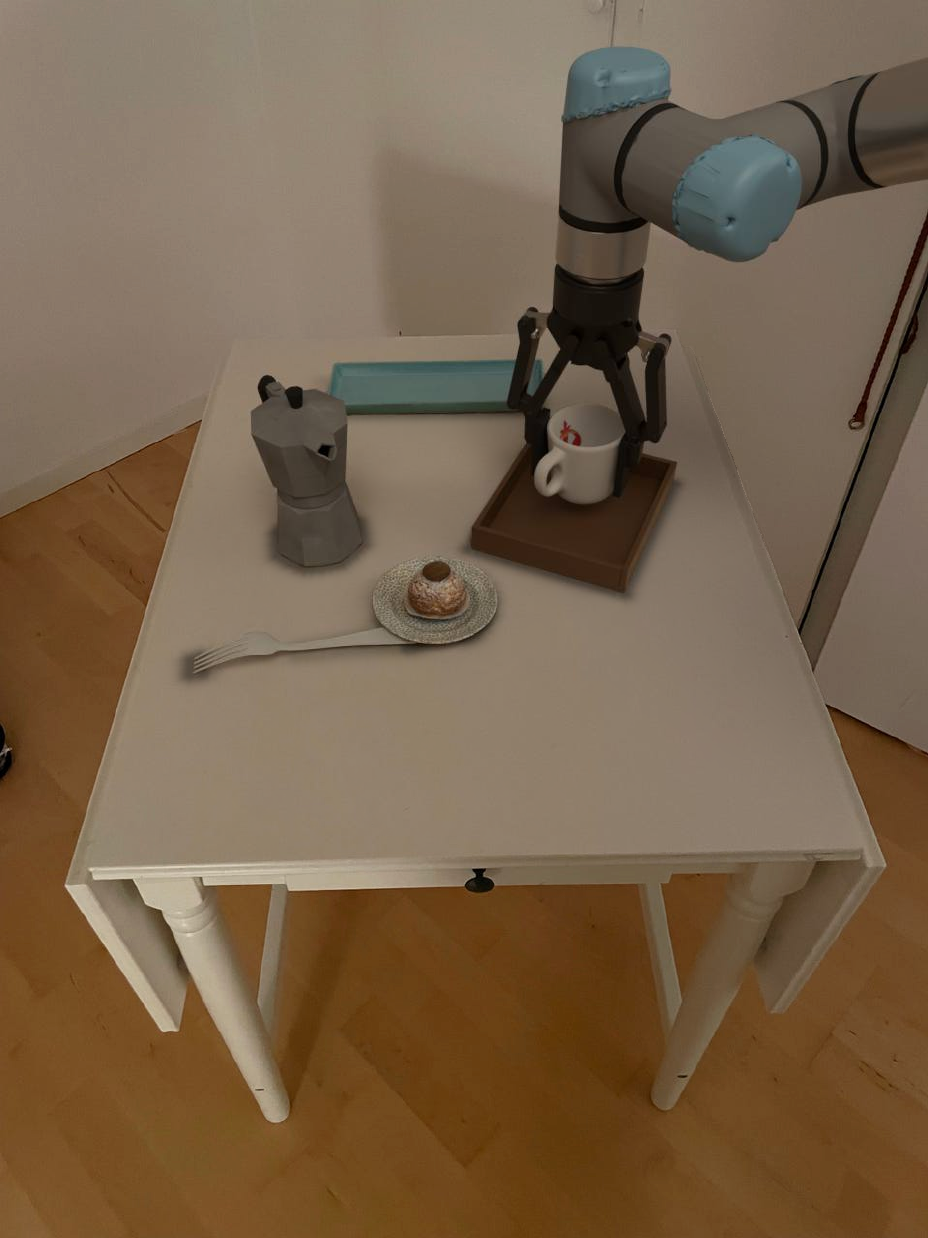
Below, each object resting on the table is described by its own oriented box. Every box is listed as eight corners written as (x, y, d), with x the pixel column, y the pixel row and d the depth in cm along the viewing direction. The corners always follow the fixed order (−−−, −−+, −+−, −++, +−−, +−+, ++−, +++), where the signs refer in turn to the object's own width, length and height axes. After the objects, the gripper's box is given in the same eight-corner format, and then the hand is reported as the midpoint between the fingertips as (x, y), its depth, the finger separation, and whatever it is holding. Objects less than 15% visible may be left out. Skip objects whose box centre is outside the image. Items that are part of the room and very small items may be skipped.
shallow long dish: (326, 419, 110) (324, 401, 108) (335, 376, 116) (332, 359, 114) (545, 417, 109) (546, 400, 107) (542, 375, 115) (543, 357, 113)
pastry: (484, 661, 83) (486, 625, 80) (357, 640, 85) (353, 604, 81) (506, 574, 91) (509, 538, 88) (390, 556, 93) (388, 521, 90)
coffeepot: (390, 557, 93) (375, 407, 80) (306, 593, 90) (275, 443, 76) (323, 478, 102) (299, 331, 89) (244, 508, 99) (207, 360, 85)
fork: (421, 662, 86) (423, 643, 84) (193, 677, 83) (189, 657, 81) (417, 640, 88) (419, 621, 86) (194, 654, 85) (190, 634, 83)
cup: (564, 537, 91) (568, 472, 85) (509, 500, 95) (509, 436, 89) (637, 489, 95) (645, 425, 90) (582, 456, 100) (586, 393, 94)
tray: (673, 483, 100) (677, 461, 98) (624, 593, 89) (627, 570, 87) (534, 449, 105) (536, 427, 103) (471, 549, 94) (471, 527, 91)
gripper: (733, 266, 76) (688, 481, 93) (501, 225, 82) (498, 434, 99) (712, 308, 71) (669, 527, 88) (468, 261, 77) (471, 475, 94)
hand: (579, 478), depth 93 cm, fingers closed on cup, 8 cm apart
